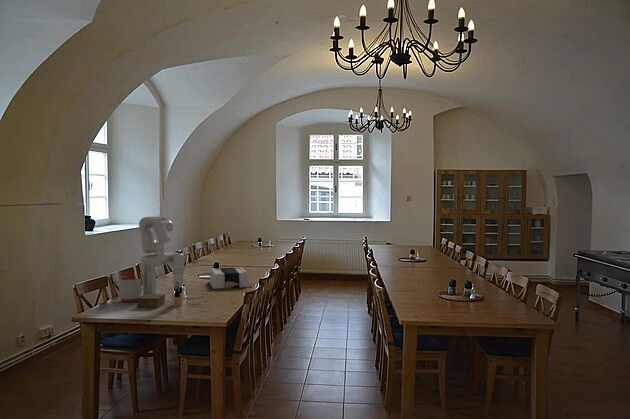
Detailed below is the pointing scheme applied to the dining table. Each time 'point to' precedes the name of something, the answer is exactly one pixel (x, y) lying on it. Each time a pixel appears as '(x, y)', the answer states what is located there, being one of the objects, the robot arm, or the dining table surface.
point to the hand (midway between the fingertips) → (178, 295)
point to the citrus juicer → (129, 288)
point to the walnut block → (151, 301)
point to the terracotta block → (178, 300)
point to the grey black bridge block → (228, 278)
